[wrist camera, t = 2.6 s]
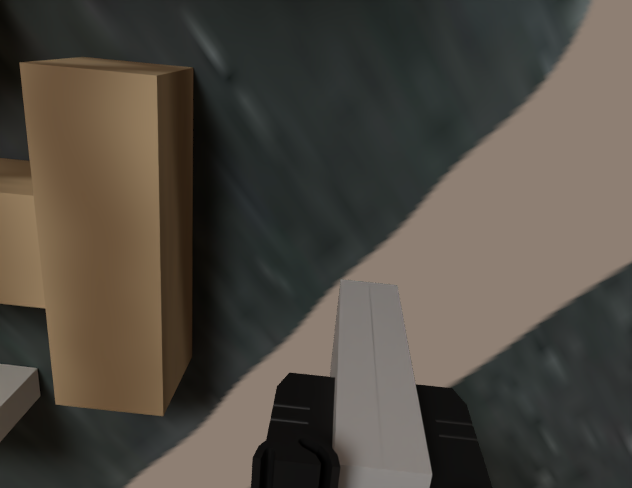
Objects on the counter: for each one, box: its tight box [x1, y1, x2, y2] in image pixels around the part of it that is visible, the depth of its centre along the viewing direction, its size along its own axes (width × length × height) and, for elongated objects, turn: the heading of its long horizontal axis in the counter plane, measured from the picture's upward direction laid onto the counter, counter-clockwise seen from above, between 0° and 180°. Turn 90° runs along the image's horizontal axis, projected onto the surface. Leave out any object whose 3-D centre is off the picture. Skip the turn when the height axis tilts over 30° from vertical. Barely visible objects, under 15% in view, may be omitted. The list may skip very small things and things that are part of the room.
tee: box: [0, 57, 193, 416], centre depth 20 cm, size 10×12×4 cm
